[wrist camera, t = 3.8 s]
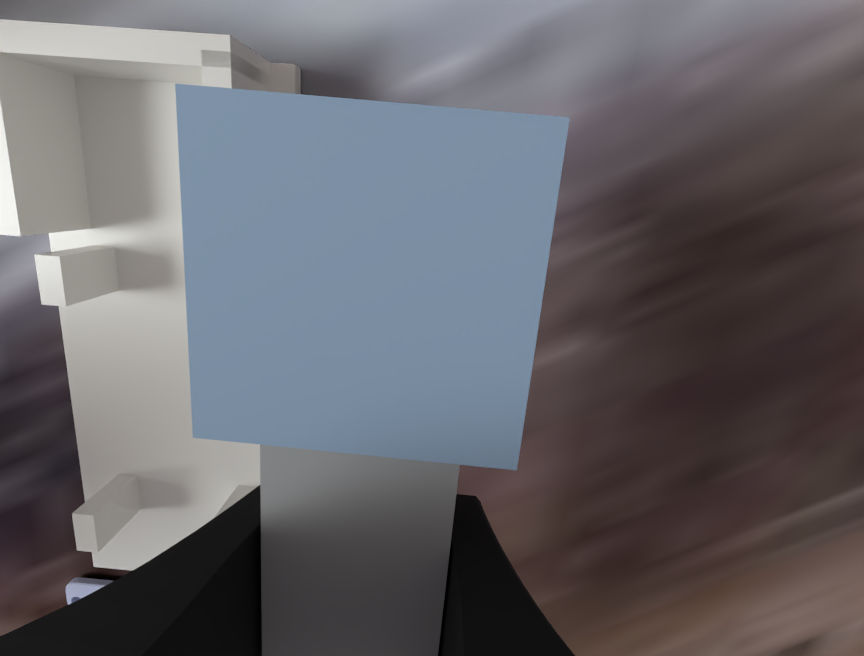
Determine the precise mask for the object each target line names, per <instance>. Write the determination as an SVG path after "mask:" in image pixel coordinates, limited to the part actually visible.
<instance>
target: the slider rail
mask: <svg viewBox="0 0 864 656" xmlns="http://www.w3.org/2000/svg"><path fill="white" fill-rule="evenodd" d="M175 84H187V85H198V86H210V87H221V88H233V89H245V90H256V91H268V92H279V93H291V94H301V68H299V67H298V66H297V65H295V64H285V63H271V62H269V61H268V60H266V59H265V58H263V57H262V56H260V55H259V54H257V53H256V52H254V51H253V50H251V49H250V48H248V47H247V46H245V45H244V44H242V43H241V42H240V41H238V40H237V39H235V38H234V37H232V36H231V35H223V34H208V33H193V32H179V31H164V30H150V29H135V28H120V27H106V26H91V25H76V24H62V23H47V22H33V21H18V20H3V19H0V235H12V236H27V235H37V234H46V233H49V238H50V246H51V252H47V253H41V254H34V255H35V262H36V269H37V276H38V283H39V290H40V297H41V304H42V305H54V306H59V313H60V320H61V328H62V335H63V343H64V350H65V357H66V365H67V372H68V380H69V387H70V395H71V402H72V409H73V417H74V424H75V432H76V439H77V447H78V454H79V462H80V469H81V476H82V484H83V491H84V499H85V503H84V504H82V505H81V506H80V507H79V508H78V509H77V510H75V511H74V512H73V513H72V519H73V526H74V533H75V540H76V547H77V551H87V552H92V558H93V566H94V567H101V568H111V569H121V570H132V571H133V570H134V569H136V568H138V567H140V566H141V565H143V564H145V563H146V562H148V561H150V560H151V559H153V558H154V557H156V556H158V555H159V554H161V553H162V552H164V551H165V550H167V549H168V548H170V547H171V546H173V545H175V544H176V543H178V542H179V541H181V540H182V539H184V538H185V537H187V536H189V535H190V534H192V533H193V532H195V531H196V530H198V529H199V528H201V527H202V526H204V525H205V524H206V523H208V522H209V521H211V520H212V519H213V518H215V517H216V516H218V515H219V514H221V513H222V512H223V511H225V510H226V509H228V508H229V507H230V506H232V505H233V504H235V503H236V502H237V501H239V500H240V499H241V498H243V497H244V496H245V495H247V494H248V493H250V492H251V491H252V490H254V489H255V488H256V487H258V486H259V485H260V444H250V443H240V442H230V441H220V440H210V439H200V438H193V431H192V411H191V391H190V371H189V351H188V331H187V311H186V291H185V271H184V251H183V231H182V211H181V191H180V171H179V151H178V131H177V111H176V91H175Z"/></svg>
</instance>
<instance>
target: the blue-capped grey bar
mask: <svg viewBox="0 0 864 656" xmlns="http://www.w3.org/2000/svg"><path fill="white" fill-rule="evenodd" d="M175 91H176V111H177V131H178V151H179V171H180V191H181V211H182V231H183V251H184V271H185V291H186V311H187V331H188V351H189V371H190V391H191V411H192V431H193V438H200V439H210V440H220V441H230V442H240V443H250V444H260V497H261V606H262V656H438V651H439V642H440V633H441V624H442V615H443V607H444V598H445V589H446V580H447V572H448V563H449V554H450V545H451V537H452V528H453V519H454V510H455V502H456V493H457V484H458V475H459V467H460V465H469V466H479V467H489V468H499V469H509V470H517V466H518V459H519V452H520V446H521V439H522V432H523V426H524V419H525V412H526V406H527V399H528V392H529V386H530V379H531V372H532V366H533V359H534V352H535V346H536V339H537V332H538V326H539V319H540V312H541V306H542V299H543V292H544V286H545V279H546V272H547V266H548V259H549V252H550V246H551V239H552V232H553V226H554V219H555V212H556V206H557V199H558V192H559V186H560V179H561V172H562V166H563V159H564V152H565V146H566V139H567V132H568V126H569V119H570V118H569V117H558V116H546V115H535V114H523V113H511V112H500V111H488V110H477V109H465V108H453V107H442V106H430V105H419V104H407V103H395V102H384V101H372V100H361V99H349V98H337V97H326V96H314V95H303V94H291V93H279V92H268V91H256V90H245V89H233V88H221V87H210V86H198V85H187V84H175Z"/></svg>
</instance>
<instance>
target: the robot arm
mask: <svg viewBox="0 0 864 656" xmlns="http://www.w3.org/2000/svg"><path fill="white" fill-rule="evenodd" d="M66 596H67V603H68V605H67V606H65V607H62V608H60V609H58V610H56V611H54V612H52V613H50V614H47V615H45V616H43V617H41V618H39V619H37V620H35V621H33V622H30V623H28V624H26V625H24V626H22V627H20V628H18V629H16V630H13V631H11V632H9V633H7V634H5V635H2V636H0V656H262V606H261V497H260V485H259V486H258V487H256V488H255V489H254V490H252V491H251V492H250V493H248V494H247V495H245V496H244V497H243V498H241V499H240V500H239V501H237V502H236V503H235V504H233V505H232V506H230V507H229V508H228V509H226V510H225V511H223V512H222V513H221V514H219V515H218V516H216V517H215V518H213V519H212V520H211V521H209V522H208V523H206V524H205V525H204V526H202V527H201V528H199V529H198V530H196V531H195V532H193V533H192V534H190V535H189V536H187V537H185V538H184V539H182V540H181V541H179V542H178V543H176V544H175V545H173V546H171V547H170V548H168V549H167V550H165V551H164V552H162V553H161V554H159V555H158V556H156V557H154V558H153V559H151V560H150V561H148V562H146V563H145V564H143V565H141V566H140V567H138V568H136V569H134V570H133V571H131V572H129V573H127V574H126V575H124V576H122V577H120V578H119V579H117V580H115V581H112V580H102V579H92V578H82V577H77V578H74V579H72V580H71V581H70V582H69V583H68V585H67V586H66ZM438 656H575V655H574V654H573V653H572V652H571V650H570V649H569V648H568V646H567V645H566V644H565V643H564V641H563V640H562V639H561V637H560V636H559V635H558V634H557V632H556V631H555V630H554V628H553V627H552V626H551V624H550V623H549V622H548V620H547V619H546V617H545V616H544V615H543V613H542V612H541V610H540V609H539V608H538V606H537V605H536V603H535V602H534V600H533V599H532V597H531V596H530V594H529V593H528V591H527V590H526V588H525V586H524V585H523V583H522V582H521V580H520V578H519V577H518V575H517V574H516V572H515V570H514V568H513V567H512V565H511V563H510V561H509V560H508V558H507V556H506V555H505V553H504V551H503V549H502V547H501V546H500V544H499V542H498V540H497V538H496V536H495V534H494V532H493V530H492V528H491V526H490V524H489V522H488V519H487V517H486V515H485V513H484V510H483V508H482V505H481V502H480V501H479V500H478V498H477V497H476V496H469V495H459V494H456V502H455V510H454V519H453V528H452V537H451V545H450V554H449V563H448V572H447V580H446V589H445V598H444V607H443V615H442V624H441V633H440V642H439V651H438Z"/></svg>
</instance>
